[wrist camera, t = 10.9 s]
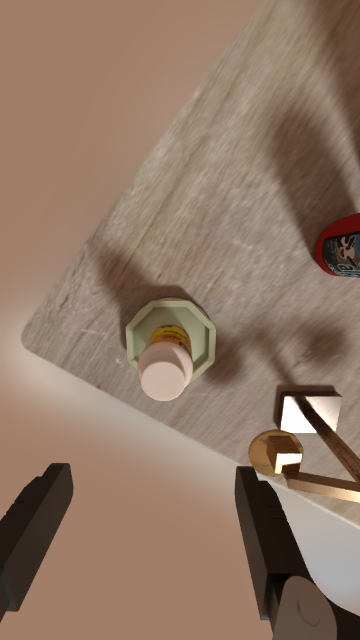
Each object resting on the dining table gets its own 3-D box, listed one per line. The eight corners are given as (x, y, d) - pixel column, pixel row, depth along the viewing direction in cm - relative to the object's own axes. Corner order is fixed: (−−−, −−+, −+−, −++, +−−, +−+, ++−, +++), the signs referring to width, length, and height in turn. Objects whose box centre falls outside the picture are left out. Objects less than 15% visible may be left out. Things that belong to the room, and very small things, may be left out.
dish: (125, 297, 28) (122, 299, 27) (216, 297, 28) (218, 299, 26) (131, 379, 31) (128, 385, 29) (213, 379, 31) (215, 386, 29)
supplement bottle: (199, 338, 28) (207, 375, 18) (175, 369, 30) (170, 420, 20) (164, 314, 28) (154, 340, 18) (141, 346, 29) (119, 388, 19)
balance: (232, 426, 33) (270, 547, 19) (234, 391, 31) (277, 494, 17) (374, 426, 32) (523, 551, 18) (383, 392, 31) (553, 497, 17)
